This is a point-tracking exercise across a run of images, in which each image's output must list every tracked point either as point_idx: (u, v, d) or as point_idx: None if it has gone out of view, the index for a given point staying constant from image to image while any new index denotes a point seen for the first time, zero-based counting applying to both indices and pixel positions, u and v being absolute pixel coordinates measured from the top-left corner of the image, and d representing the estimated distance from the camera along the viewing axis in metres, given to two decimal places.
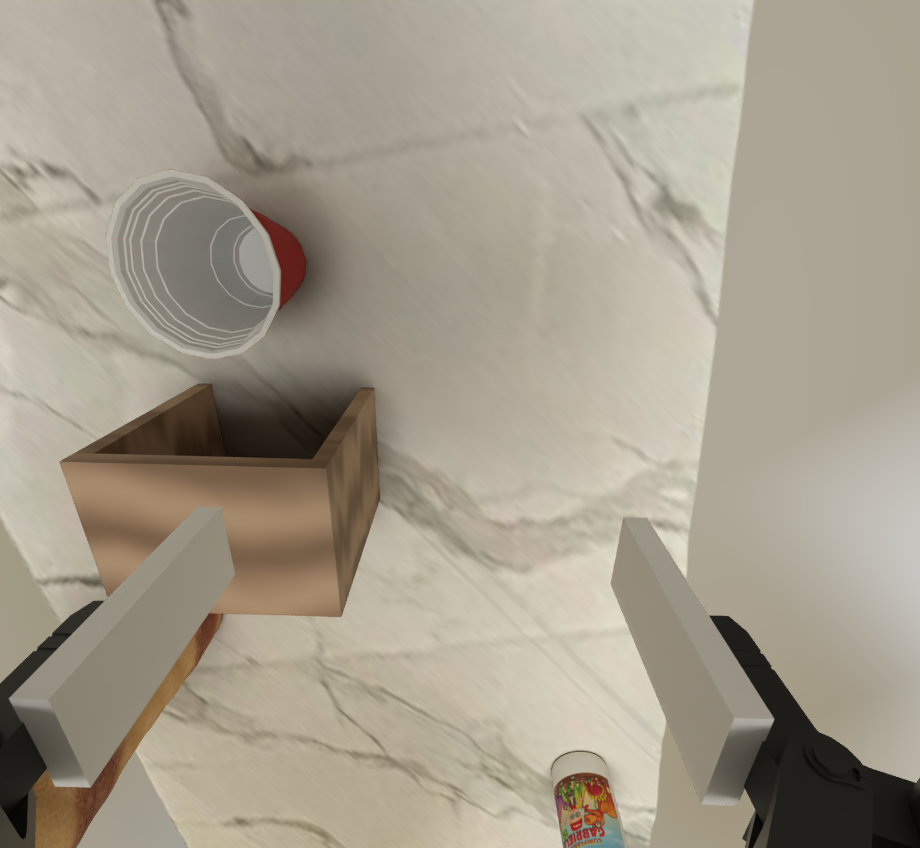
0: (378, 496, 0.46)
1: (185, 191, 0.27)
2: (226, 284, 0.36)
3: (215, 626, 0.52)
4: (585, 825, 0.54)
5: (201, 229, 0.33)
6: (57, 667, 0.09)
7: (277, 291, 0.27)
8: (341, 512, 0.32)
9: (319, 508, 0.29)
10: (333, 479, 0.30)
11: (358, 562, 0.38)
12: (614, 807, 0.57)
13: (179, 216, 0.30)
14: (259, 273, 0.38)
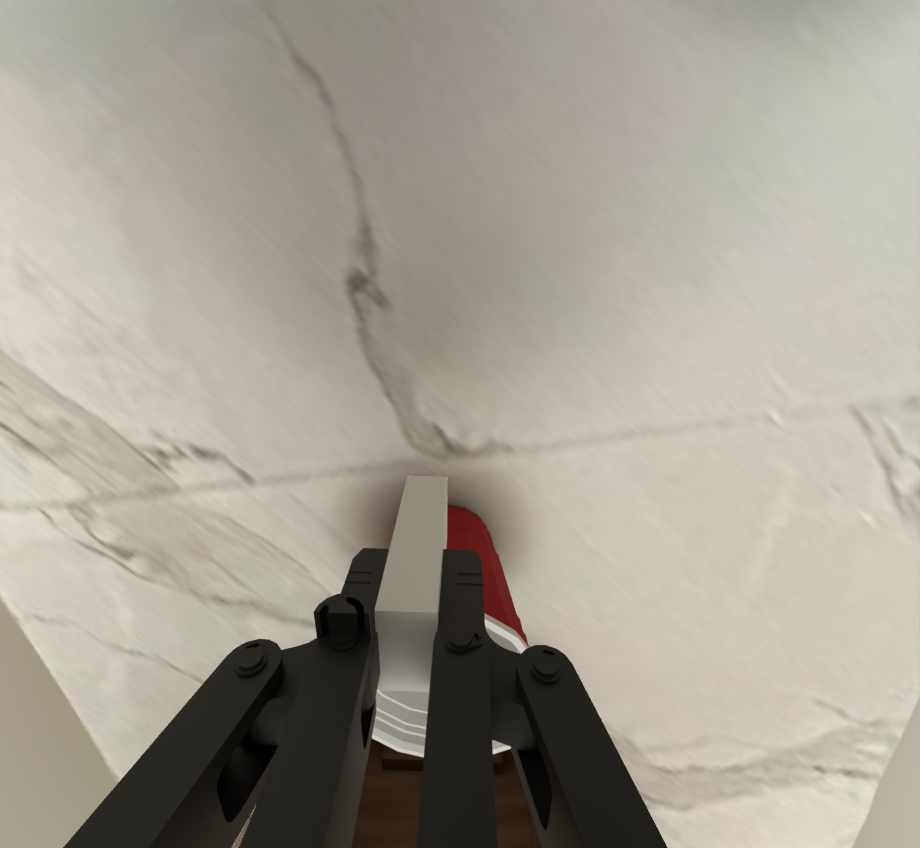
0: None
1: None
2: None
3: None
4: None
5: None
6: (393, 590, 0.11)
7: None
8: None
9: None
10: None
11: None
12: None
13: None
14: None
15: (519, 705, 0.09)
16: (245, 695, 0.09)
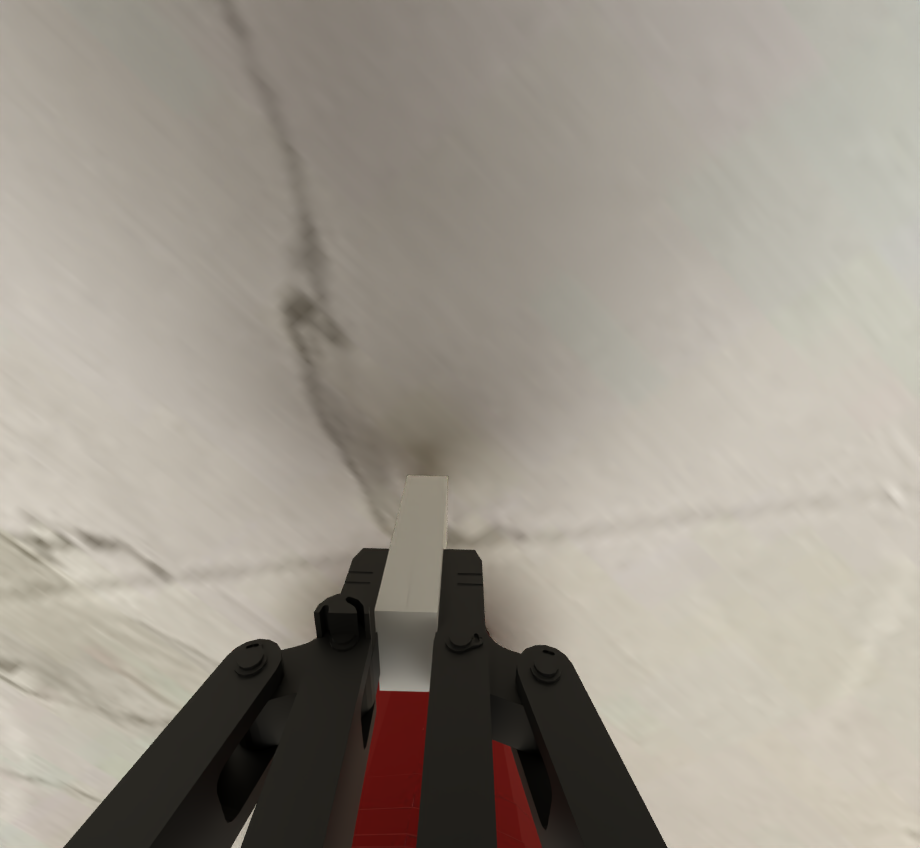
0: None
1: (393, 816, 0.13)
2: None
3: None
4: None
5: None
6: (393, 590, 0.11)
7: None
8: None
9: None
10: None
11: None
12: None
13: None
14: None
15: (520, 705, 0.09)
16: (245, 695, 0.09)
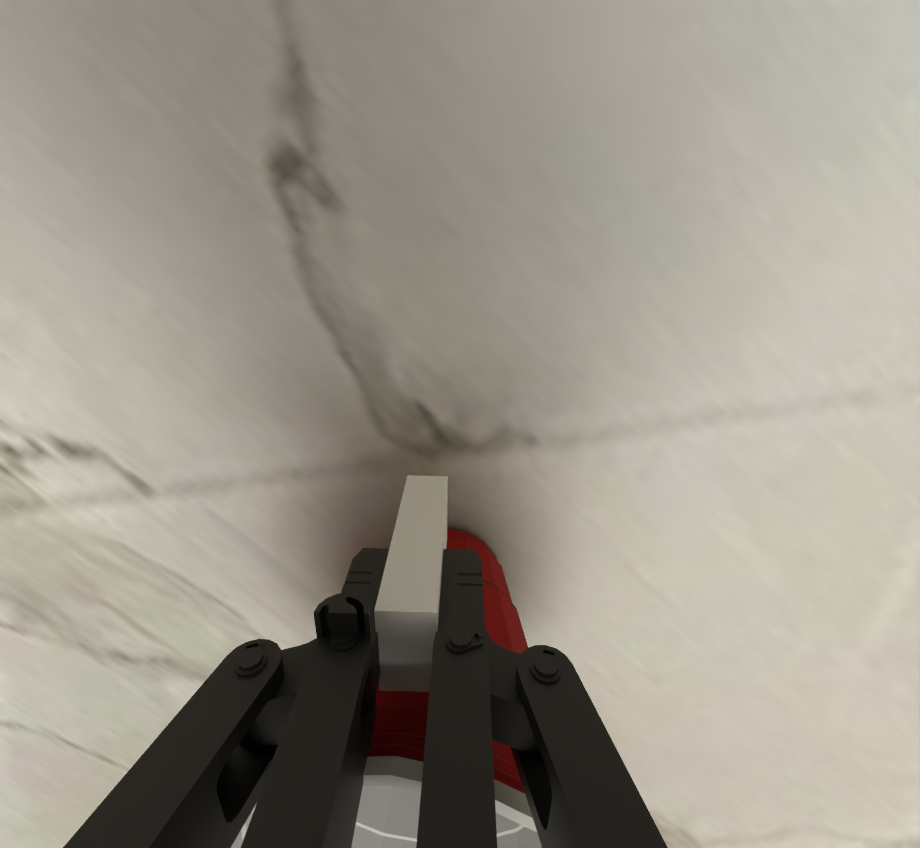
0: None
1: (389, 717, 0.12)
2: None
3: None
4: None
5: None
6: (393, 590, 0.11)
7: None
8: None
9: None
10: None
11: None
12: None
13: None
14: None
15: (519, 705, 0.09)
16: (245, 695, 0.09)
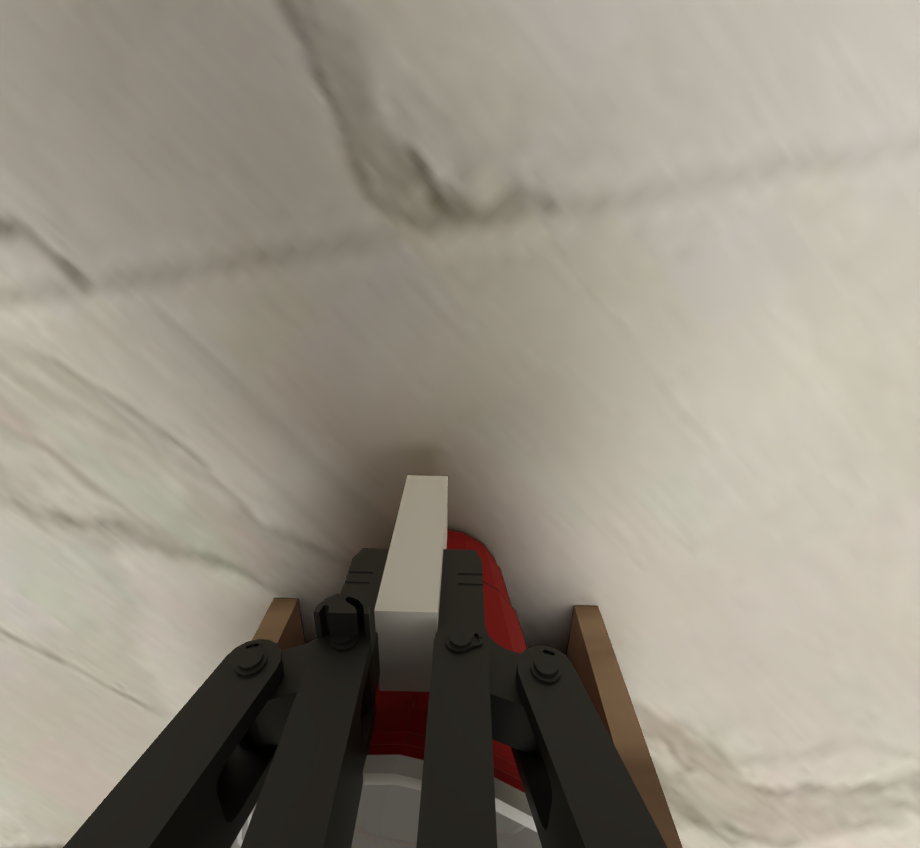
0: None
1: (391, 716, 0.11)
2: None
3: None
4: None
5: None
6: (393, 590, 0.11)
7: None
8: None
9: None
10: None
11: None
12: None
13: None
14: None
15: (519, 705, 0.09)
16: (245, 695, 0.09)
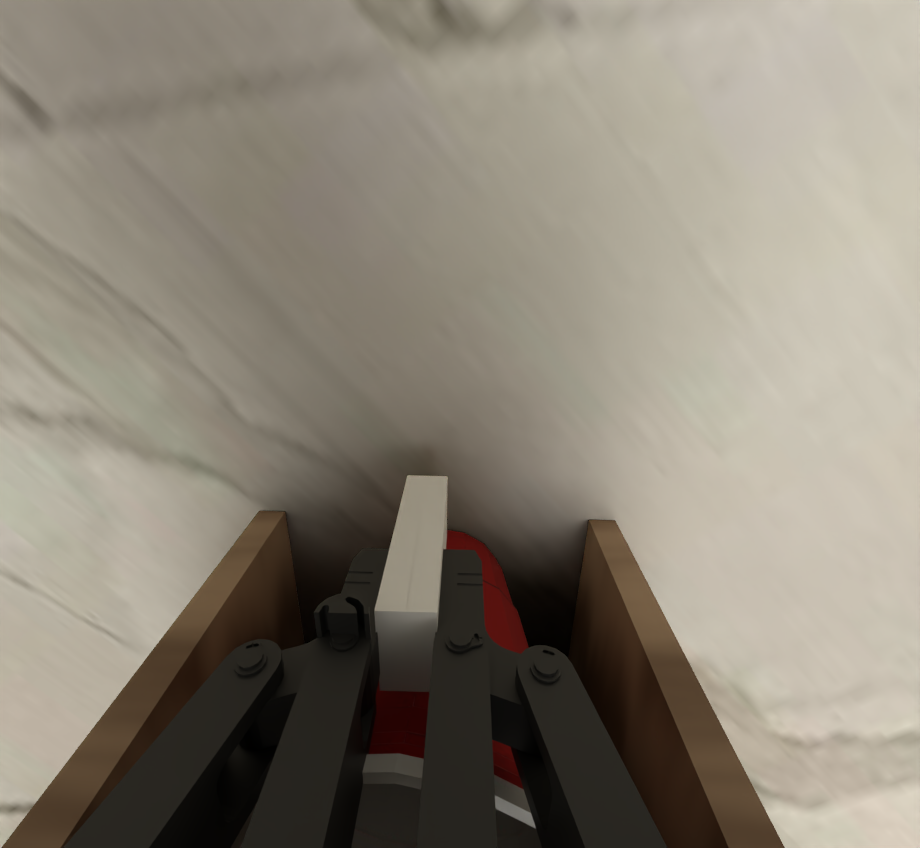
0: None
1: (391, 715, 0.11)
2: None
3: None
4: None
5: None
6: (393, 590, 0.11)
7: None
8: None
9: None
10: None
11: None
12: None
13: None
14: None
15: (520, 706, 0.09)
16: (245, 695, 0.09)
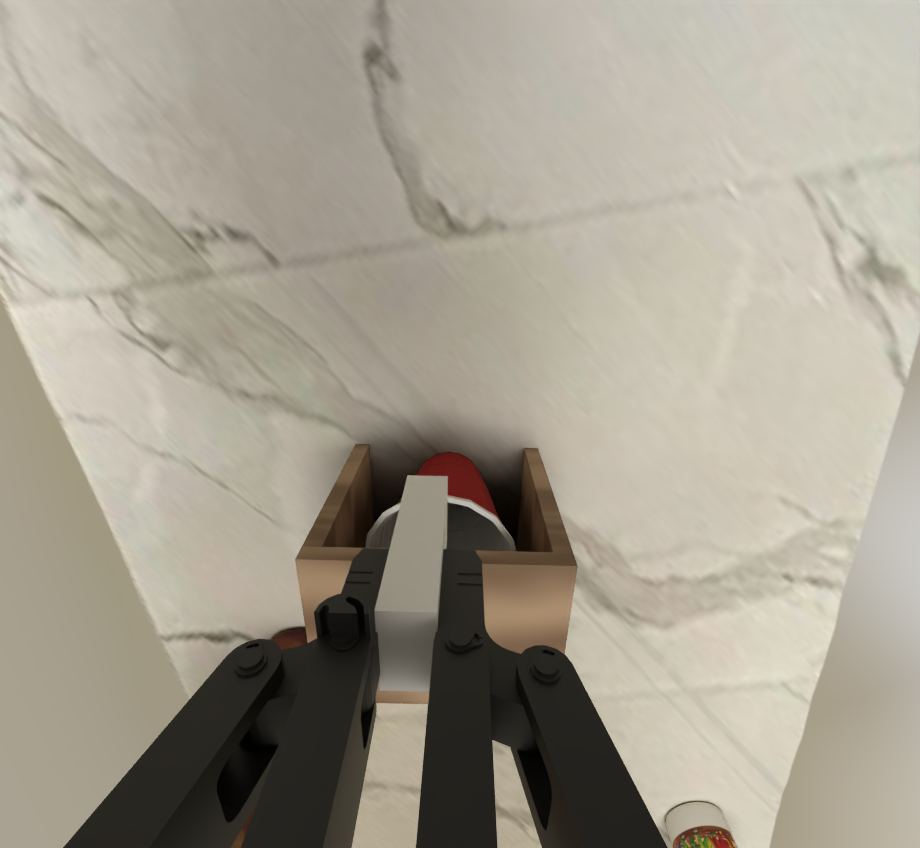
0: None
1: None
2: None
3: None
4: None
5: None
6: (393, 590, 0.11)
7: None
8: None
9: (560, 604, 0.28)
10: None
11: None
12: None
13: None
14: None
15: (519, 705, 0.09)
16: (245, 695, 0.09)
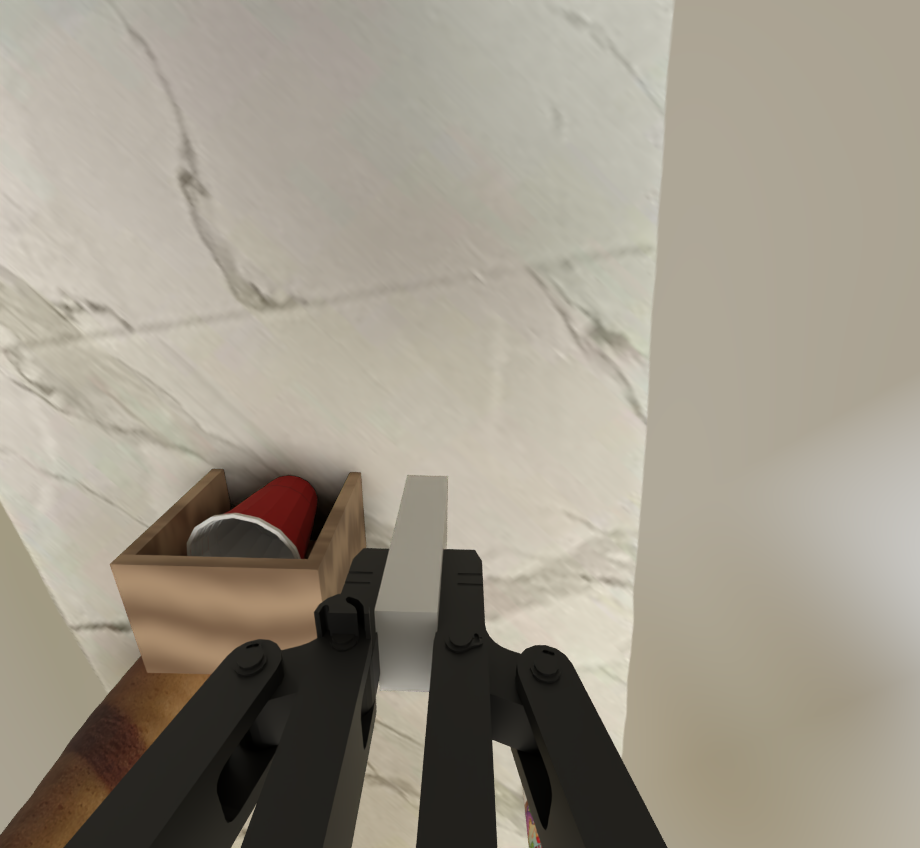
0: None
1: (240, 512, 0.41)
2: None
3: None
4: None
5: None
6: (393, 590, 0.11)
7: None
8: (331, 594, 0.40)
9: (313, 598, 0.37)
10: (324, 573, 0.37)
11: None
12: None
13: None
14: None
15: (519, 705, 0.09)
16: (245, 695, 0.09)
